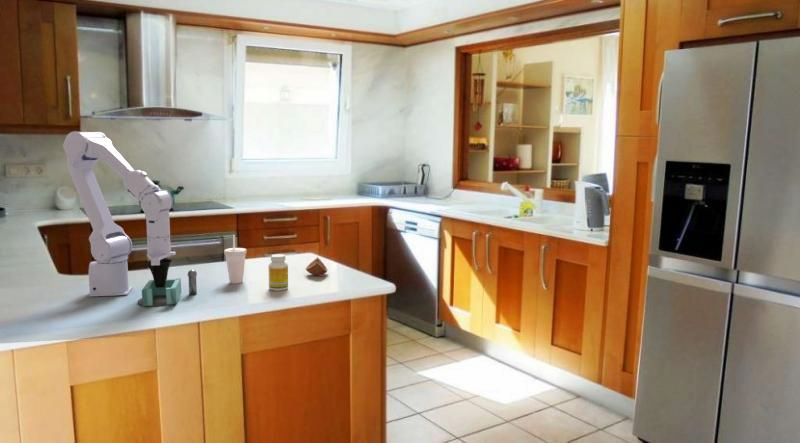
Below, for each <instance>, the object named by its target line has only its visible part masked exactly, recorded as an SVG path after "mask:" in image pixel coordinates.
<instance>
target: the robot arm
mask: <svg viewBox="0 0 800 443" xmlns="http://www.w3.org/2000/svg"><path fill="white" fill-rule="evenodd" d="M62 148H63V150H64V153H65V155H66V162H67V170H68V173H69V175H70V178H71V180H72V183H73V184H74V187H75V190H76V192H77V195H78V197H79V199H80V201H81V204H82V206H83V209H84V211H85V213H86V216H87V218H88V221H89V223H90V225H91V228H92V232H91V234H89V237H88V241H89V243H90V252H91V255H92V258H94V260H95V261H90V262H89V265H88V286H89V294H88V296H89V297H110V296H127V295H128V294H129V293H130V292H131V290H132V289H133V286H131V285H129V269H128V268H129V267H128V266H129V265H128V259H129V255H130V254H131V252H132V249H133V242H132V239H131V238H130V237H129V235H127V234H126V233H125V231H124V228H123V227H121V225H118V224H117V223H115V221H114V219H113V216H112V214H111V212H110V209H109V207H108V204H107V202H106V200H105V197H104V195H103V193H102V190H101V188H100V186H99V183H98V180H97V178H96V174H95V173H94V170H93V168H94V166H95V164H96V163H98V161H99V160H102V161H103V162H105V163H106V165H108V166H109V167H110V168H111V169H112V170H113V171H115V172H116V173H117V174H118V175H119V176H120V177H121V178H123V186H124V187H125V188H126V189H127V190H129V192H130V193H131V194H132V195H133V196H134V197H135V198H136V200H138V201H139V202H140V208H141V210H142V211H143V212H144V219H146V220H145V221H146V222H145V223H146V239H147V240H146V243H147V252H146V257H147V258H149V260H148V261H147V262H146V265H147V267H148V269H149V270H150V272H151V275H152V278H153V279H152V280H154V282H155V286H156V288H161V287H165V283H166V279H168V272H169V269H170V265H171V263H172V261H173V258H172V257H171V256H175V255H177V254H176V253H177V252H176V251H171V250H172V248H171V226H170V225H171V224H170V222H171V221H170V210H171V209H172V208H173V205H174V198H173V196H172V194H171V193H170V191H169V190H166V189H161V188H160V186H159V185H158V184H155V183H154V182H153V181H152V180H151V179H150V177H148V173H147V172H145V171H142V170H140V169H134V167H132V166H131V164H129V163H128V162H127V161H126V159H125V158H124V157H123V156H122V154H121V153H120V152H119V151H117V149H116V148H115V147H114V146H113V142H112V140H111V139H109V137H107V135H105V134H104V133H103V132H102V131H91V132H90V131H70V132H69V133H68V134H67V135H66V137H65V139H64V142H63V144H62Z"/></svg>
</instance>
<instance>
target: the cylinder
mask: <svg viewBox="0 0 800 443" xmlns="http://www.w3.org/2000/svg"><path fill="white" fill-rule="evenodd" d="M197 273H198V272H197V271H196V270H194V269H190V270H189V271H187V276H188V278H187V279H188V294H189V295H191V296H194V295H195V296H196V295H197V293H198V292H197V275H198V274H197Z"/></svg>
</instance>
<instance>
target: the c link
mask: <svg viewBox="0 0 800 443" xmlns="http://www.w3.org/2000/svg"><path fill="white" fill-rule="evenodd" d="M155 295H166V299H167V304H169V305H176V304H177V303H178V302H179V300H180V299H179V298H180V297H181V295H182V280H181V277H180V278H179V277H178V278H167V279H166V283H165V287H161V288H156V286H155V282H154V279H149V280H148V281H147V283H146V284H145V286H143V288H142V289H141V298H142V302H143V306H142V307H150V306H149V305H153V297H154V296H155ZM178 299H179V300H178Z"/></svg>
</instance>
